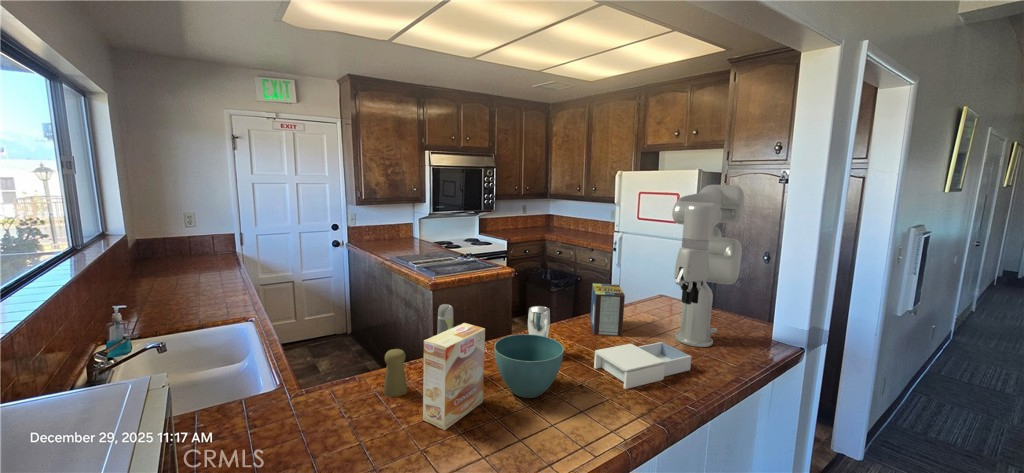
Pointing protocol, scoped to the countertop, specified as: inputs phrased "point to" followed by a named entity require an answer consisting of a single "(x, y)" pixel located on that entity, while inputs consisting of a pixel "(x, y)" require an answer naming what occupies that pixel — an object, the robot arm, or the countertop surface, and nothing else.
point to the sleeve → (632, 364)
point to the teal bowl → (528, 363)
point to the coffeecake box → (453, 374)
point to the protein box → (607, 309)
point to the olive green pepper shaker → (395, 373)
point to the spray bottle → (445, 318)
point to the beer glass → (539, 320)
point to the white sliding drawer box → (672, 357)
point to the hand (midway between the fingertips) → (689, 302)
